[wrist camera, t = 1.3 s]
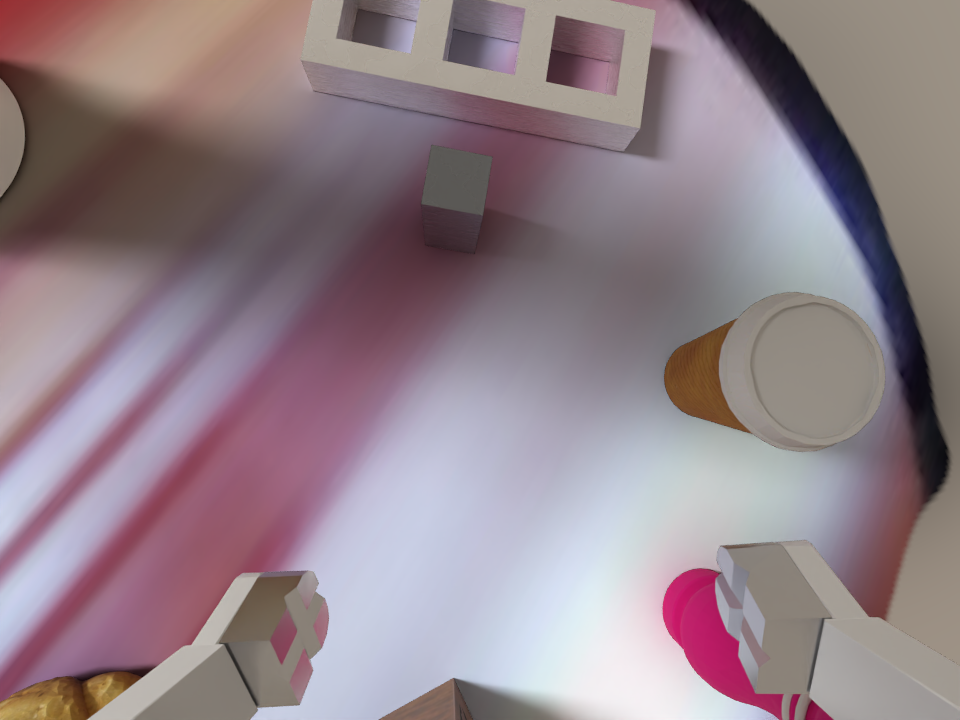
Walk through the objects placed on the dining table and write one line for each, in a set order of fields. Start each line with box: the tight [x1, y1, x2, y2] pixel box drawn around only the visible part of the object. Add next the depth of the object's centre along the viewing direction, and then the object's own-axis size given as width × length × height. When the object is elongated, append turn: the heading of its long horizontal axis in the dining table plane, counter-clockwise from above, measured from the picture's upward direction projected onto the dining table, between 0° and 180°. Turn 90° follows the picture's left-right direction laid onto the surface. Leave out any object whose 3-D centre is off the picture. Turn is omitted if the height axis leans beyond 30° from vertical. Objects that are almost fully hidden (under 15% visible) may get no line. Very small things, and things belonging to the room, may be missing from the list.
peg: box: [421, 145, 492, 254], centre depth 34 cm, size 4×4×8 cm
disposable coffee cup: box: [664, 292, 885, 452], centre depth 33 cm, size 10×10×12 cm
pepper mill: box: [663, 569, 834, 720], centre depth 27 cm, size 7×7×20 cm
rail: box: [300, 0, 656, 152], centre depth 38 cm, size 26×10×4 cm, turn 81°
